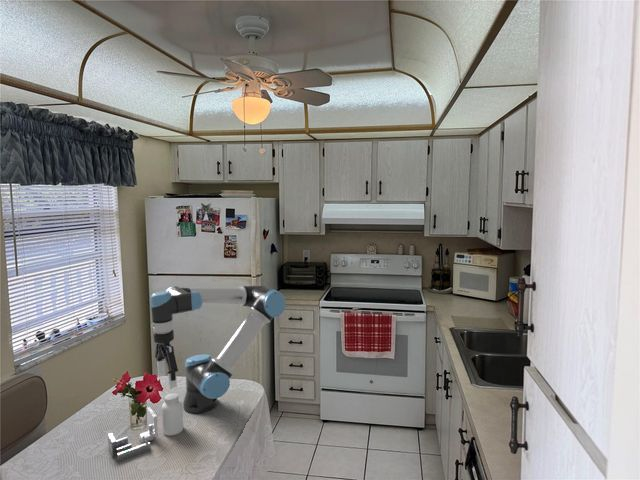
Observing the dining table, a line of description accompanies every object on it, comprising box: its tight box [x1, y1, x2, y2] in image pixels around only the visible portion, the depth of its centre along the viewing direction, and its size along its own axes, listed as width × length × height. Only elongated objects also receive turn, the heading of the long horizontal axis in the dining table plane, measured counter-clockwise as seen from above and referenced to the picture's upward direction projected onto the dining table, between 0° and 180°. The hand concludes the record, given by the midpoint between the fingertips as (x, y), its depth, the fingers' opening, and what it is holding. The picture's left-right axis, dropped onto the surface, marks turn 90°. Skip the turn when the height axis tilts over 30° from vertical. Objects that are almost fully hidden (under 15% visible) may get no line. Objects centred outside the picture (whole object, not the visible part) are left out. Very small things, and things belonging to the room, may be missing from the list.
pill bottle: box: [161, 392, 184, 437], centre depth 169 cm, size 8×8×15 cm
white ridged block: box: [107, 432, 152, 462], centre depth 157 cm, size 12×10×6 cm
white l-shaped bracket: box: [138, 406, 159, 445], centre depth 162 cm, size 5×12×10 cm, turn 38°
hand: (167, 381), depth 166 cm, fingers open, 13 cm apart
